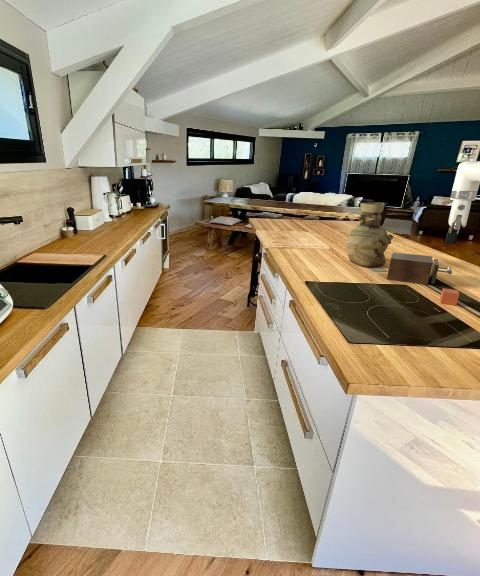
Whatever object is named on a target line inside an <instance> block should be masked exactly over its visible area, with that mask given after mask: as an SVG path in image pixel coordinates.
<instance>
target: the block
mask: <svg viewBox="0 0 480 576" xmlns="http://www.w3.org/2000/svg"><path fill="white" fill-rule="evenodd" d="M459 297H460V292H459V290H458V289H452V288H444V287H443V288H442V289H441V294H440V298H439V303H440V304H445V305H449V306H456V307H457V303H458V300H459Z"/></svg>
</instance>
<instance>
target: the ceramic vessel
mask: <svg viewBox="0 0 480 576" xmlns="http://www.w3.org/2000/svg"><path fill="white" fill-rule="evenodd" d="M384 208H385V203H384V202H360V212H361V213H360V216H359V219H358V220H359V225H356V226H355V227H353V228H352V229H351V230H350V231H349V233H348V236H347V239H346V253H347V258H348V259H349V261H350V262H351V263H352V264H355V265H358V266H360V267H364V268H374V267H381V266H382V267H383V266H384V265H385V264H386V263H387V259H386V255H385V252H386V250H388V247H389V245H391V244H392V240H393V239H394V235H392V234H388V232H387V230H386V229H385V228H384V227H382V226H381V222H382V213H383V212H384Z"/></svg>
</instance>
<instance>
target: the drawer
mask: <svg viewBox="0 0 480 576" xmlns="http://www.w3.org/2000/svg"><path fill="white" fill-rule="evenodd" d="M438 273H444V274H448V275H452V274H453V271H452V267H450V266H447V267H442V266H440V264H439V259H438V258H433V265H432V269H431V273H430V277H429V281H430V284H432V285H433V284H435V283H436V279H437V277H438V276H437V275H438Z"/></svg>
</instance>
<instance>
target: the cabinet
mask: <svg viewBox="0 0 480 576" xmlns="http://www.w3.org/2000/svg"><path fill="white" fill-rule="evenodd" d="M433 262H434V259H433V256H432V255H423V254H414V253H406V252H405V253H403V252H395V251H394V252H392V254H391V257H390V262H389V266H388V271H387V275H386V281H387V280H388V281H395V282H402V283H409V284H416V285H421V286H422V285H423V286H428V285H429V281H430V274H431V270H432V266H433Z"/></svg>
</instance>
